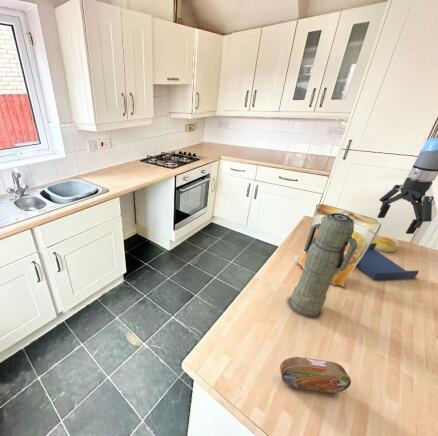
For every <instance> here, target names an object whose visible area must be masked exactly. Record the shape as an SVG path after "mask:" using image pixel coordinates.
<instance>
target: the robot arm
mask: <svg viewBox="0 0 438 436" xmlns="http://www.w3.org/2000/svg"><path fill="white" fill-rule="evenodd" d="M407 176H408V177H406V178H405V180H404V181H403V183H402V184H394V186H393V187H392V188H391V189H390V190H389V191H387V192H386V193H385V194H384V195H383V196H381V197H380V198H379V202H381V206H380V208H379V213H378V215H377V216H376V218H378V219H385V217H386V216H387V214H388V212H389V210H390V208H391V204H392V203H395V202H397V201H399V200H404V201H407V202H408V203H410V204H411V205H412V209H413V212H414V216H415V219H413V220H411V223H410V224H409V226H408V228H407V230H406V231H405V234H407V235H413V234H415V232H416V230H417V229H419V228H421V227H422V224H423V223H427V222H428V223H429V222H432V221H433V220H432V214H433V212H432V211H433V210H432V209H433V201H434V198H435V197H434V196H433V195H430V196H429V195H426V193H427V192H428V191H429V190H430V189H431V187H432V185H433V183H434V181H435V180H436V178H437V177H438V137H432V138H429V139H427V140H426V141H425V142H424V144H423V147H422V148H421V149H420V152H419V153H418V156H417V157H416V159H415V161H414V163H413V165H412V167H411V169H410V170H409V172H408V174H407ZM399 192H400V193H399Z"/></svg>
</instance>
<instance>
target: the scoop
mask: <svg viewBox="0 0 438 436" xmlns="http://www.w3.org/2000/svg"><path fill="white" fill-rule="evenodd" d="M376 245H377V244H376V243H371V245H370V246H369V248H368V250H367V251H366V252H365V253H364V255H363V257H362V258H361V259H360V261H359V262H358V264H357V265H356V267H358V268H359V269H360V270H361V271H363V273H365V274H366V275H368V276H369V277H370V278H371V279H372V280H374V281H384V280H387V281H388V280H407V279H408V280H409V279H410V280H411V279H416V278H417V276H418V274H419V273H420V270H405V268H402V267H401V266H399V265H398V264H396V263H395V262H394V261H392V260H391V259H389V258H388V257H386V256H385V255H383V254H381V253H380V252H378V250H376V248H375V246H376Z"/></svg>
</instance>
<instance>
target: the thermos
mask: <svg viewBox="0 0 438 436" xmlns="http://www.w3.org/2000/svg"><path fill="white" fill-rule="evenodd" d="M316 228H317V229H319V230H318V232H317V235H316V239H315V240H314V243H313V244H312V245H311V242H312V239H313V236H314V234H315V231H316ZM309 231H310V233H309V232H308V235H309V236H307V239H306V242H305V245H304V250H303V252H306V254H307V255H306V258H305V261H304V263H305V266H304V269H303V268H302V272H301V275H300V277H299V279H298V283H297V285H296V286H295V287H294V289H293V291H292V293H291V298H290V301H289V303H290V306H291V308H292V309H293V310H294V311H295V312H296V313H298V314H300V315H302V316H304V317H309V318H314V317H317V316H318V315H319V314H320V311H321V310H322V308H323V306H324V304H325V302H326V299H327V293H328V290H329V289H330V286H331V285H332V284H331V282H332V279H333V277H334V275H336V274H337V273H338V271H341V270H345V269H346V268H347V266H348V263H349V261H350V259H351V258H352V256H353V254H354V252H355V250H356V248H357V246H358V245H357V242H356V240H355V239H353V238H352V234H353V231H354V220H353V219H352V218H350V217H349V216H347V215H344V214H340V213H331V214H328V215H327V216H326V217H325V218H324V219H323V220H322V222H321V224H320V223H318V224H316V225H314V226H313V227H312V228H311V230H310V229H309ZM348 242H349V244H350V247H349V249H348V252H347V254H346V256H345V258H344V251H345V247H346V246H347V245H348ZM310 245H311V246H310Z"/></svg>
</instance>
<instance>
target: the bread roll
mask: <svg viewBox="0 0 438 436" xmlns="http://www.w3.org/2000/svg"><path fill="white" fill-rule="evenodd" d="M372 243H376V244H377V245H376V246H375V248H374V249H375V250H376V249H377V251H378V250H379V251H381V252H386V253H394V252H396V251H397V247H398V246H397V243H396V242H395V241H393V239H390V238H389V237H388V238H387V237H376V238H374V239H373V241H372Z"/></svg>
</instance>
